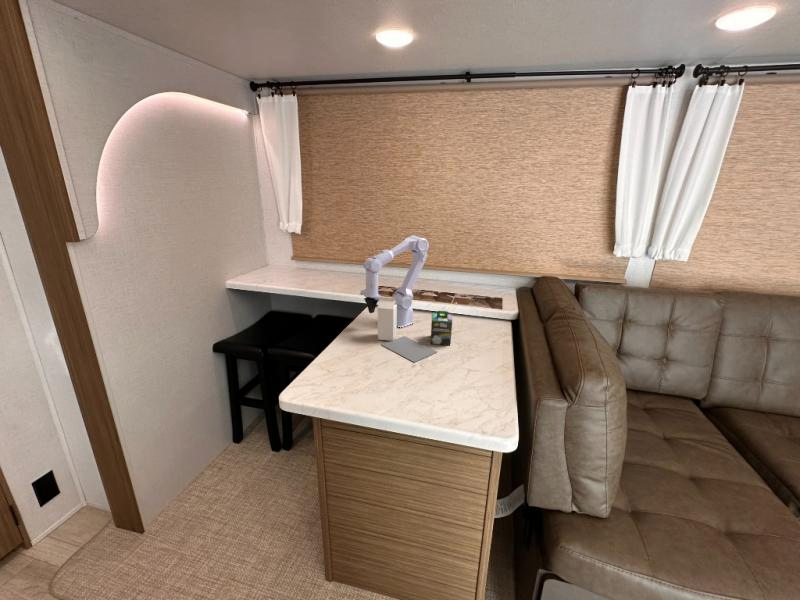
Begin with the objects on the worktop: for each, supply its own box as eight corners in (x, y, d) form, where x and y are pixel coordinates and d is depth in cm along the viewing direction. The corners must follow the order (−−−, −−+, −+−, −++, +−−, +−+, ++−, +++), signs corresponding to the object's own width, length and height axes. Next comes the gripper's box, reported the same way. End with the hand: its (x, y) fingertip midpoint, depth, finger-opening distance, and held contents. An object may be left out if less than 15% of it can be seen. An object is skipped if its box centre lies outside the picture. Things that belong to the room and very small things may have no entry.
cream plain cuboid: (393, 341, 156) (393, 300, 150) (377, 339, 157) (377, 299, 152) (396, 335, 163) (396, 295, 157) (381, 333, 164) (381, 294, 158)
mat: (404, 336, 162) (404, 336, 162) (437, 352, 148) (437, 351, 148) (381, 345, 153) (381, 344, 152) (414, 362, 139) (414, 362, 139)
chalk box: (450, 337, 164) (452, 307, 159) (450, 345, 155) (453, 314, 150) (430, 335, 164) (432, 305, 160) (429, 344, 156) (432, 313, 151)
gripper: (355, 282, 163) (355, 309, 167) (375, 289, 153) (374, 318, 157) (367, 280, 167) (367, 306, 172) (387, 287, 158) (386, 315, 162)
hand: (371, 312), depth 165 cm, fingers closed
